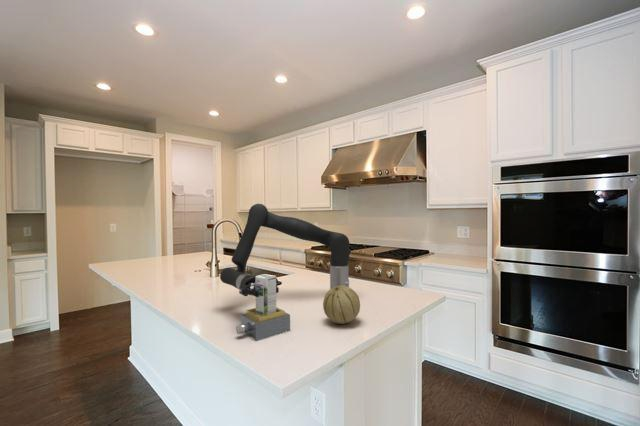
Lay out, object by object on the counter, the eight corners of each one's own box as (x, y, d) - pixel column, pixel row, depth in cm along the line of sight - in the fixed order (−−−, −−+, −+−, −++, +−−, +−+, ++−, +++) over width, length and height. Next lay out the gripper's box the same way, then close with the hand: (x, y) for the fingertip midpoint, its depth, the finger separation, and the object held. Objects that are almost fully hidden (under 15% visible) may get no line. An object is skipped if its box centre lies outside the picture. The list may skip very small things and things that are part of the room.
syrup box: (255, 314, 114) (254, 276, 114) (266, 310, 119) (266, 273, 118) (265, 317, 111) (265, 278, 110) (277, 313, 115) (276, 275, 115)
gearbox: (273, 321, 123) (273, 303, 123) (290, 330, 114) (290, 310, 114) (231, 333, 112) (230, 312, 112) (245, 344, 103) (245, 322, 103)
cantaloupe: (364, 319, 125) (364, 282, 125) (353, 332, 112) (353, 291, 112) (331, 314, 131) (331, 279, 131) (317, 326, 118) (316, 287, 118)
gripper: (231, 277, 121) (250, 285, 108) (263, 272, 130) (284, 279, 117) (231, 296, 121) (250, 306, 108) (264, 290, 130) (284, 298, 117)
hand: (268, 292), depth 112 cm, fingers open, 7 cm apart
